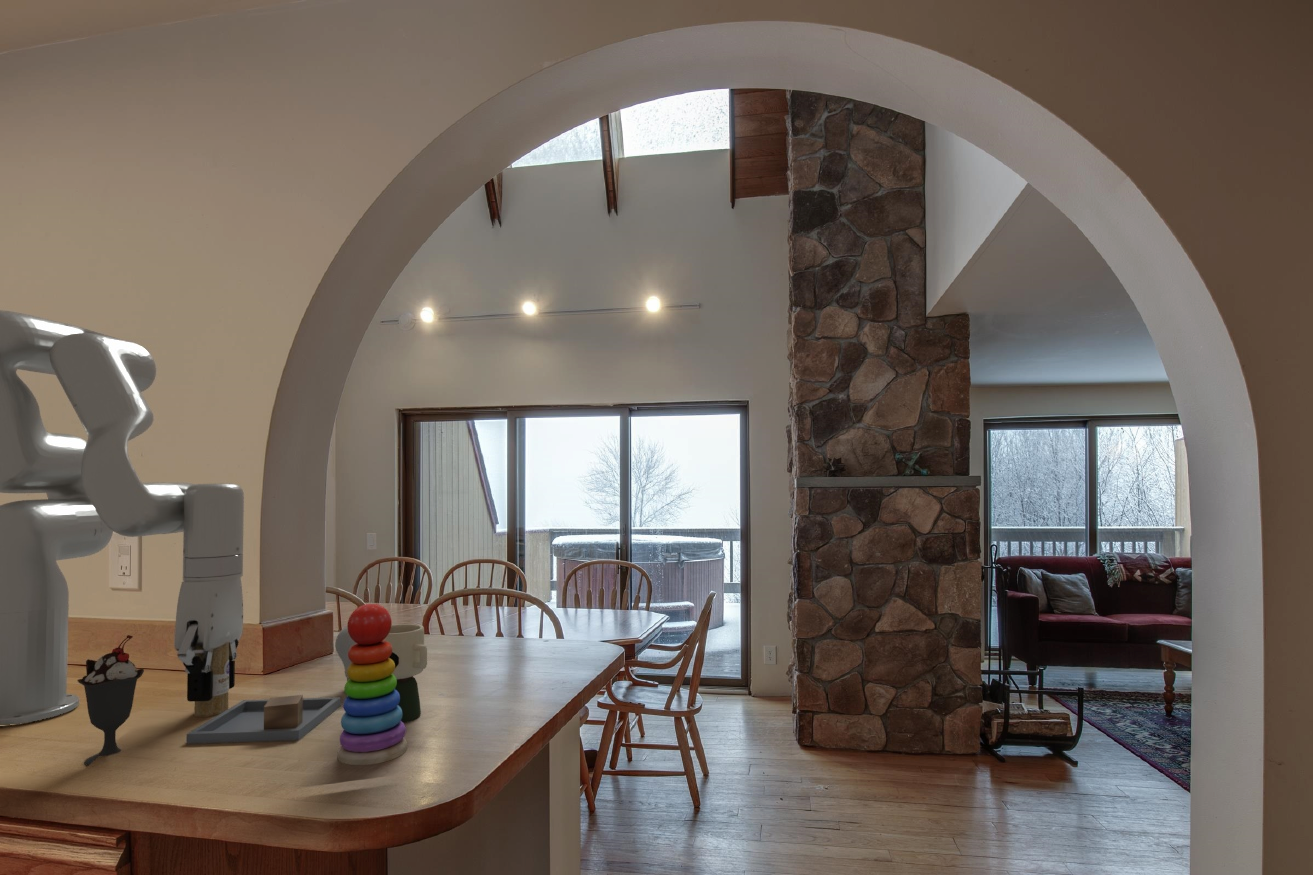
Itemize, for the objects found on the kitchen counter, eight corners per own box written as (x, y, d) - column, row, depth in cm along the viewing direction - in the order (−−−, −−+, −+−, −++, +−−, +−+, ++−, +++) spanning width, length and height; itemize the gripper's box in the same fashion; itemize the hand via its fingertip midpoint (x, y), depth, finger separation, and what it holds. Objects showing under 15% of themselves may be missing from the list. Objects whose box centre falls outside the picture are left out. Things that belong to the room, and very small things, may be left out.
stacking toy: (373, 742, 94) (374, 596, 95) (421, 751, 91) (421, 600, 92) (322, 765, 87) (323, 607, 88) (372, 776, 84) (372, 611, 85)
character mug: (349, 724, 101) (349, 630, 102) (389, 709, 107) (390, 620, 108) (405, 737, 96) (405, 637, 97) (444, 720, 102) (444, 627, 103)
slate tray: (186, 749, 93) (186, 733, 93) (243, 713, 107) (243, 699, 107) (298, 746, 93) (298, 730, 93) (340, 710, 107) (340, 697, 107)
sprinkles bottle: (230, 718, 105) (231, 623, 105) (192, 724, 102) (194, 627, 103) (228, 709, 109) (229, 618, 109) (192, 715, 106) (193, 622, 107)
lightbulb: (340, 701, 112) (340, 629, 112) (331, 692, 117) (331, 622, 117) (381, 693, 116) (381, 623, 116) (370, 685, 120) (370, 617, 121)
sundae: (147, 757, 90) (150, 635, 91) (79, 774, 85) (82, 644, 86) (137, 744, 95) (140, 627, 96) (72, 758, 90) (75, 636, 91)
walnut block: (263, 738, 94) (263, 706, 94) (269, 728, 98) (270, 697, 98) (297, 734, 95) (298, 703, 96) (302, 724, 99) (302, 694, 99)
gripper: (219, 561, 115) (217, 678, 114) (149, 576, 98) (146, 714, 97) (267, 560, 115) (266, 677, 114) (206, 575, 98) (204, 712, 97)
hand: (211, 692), depth 106 cm, fingers open, 5 cm apart
